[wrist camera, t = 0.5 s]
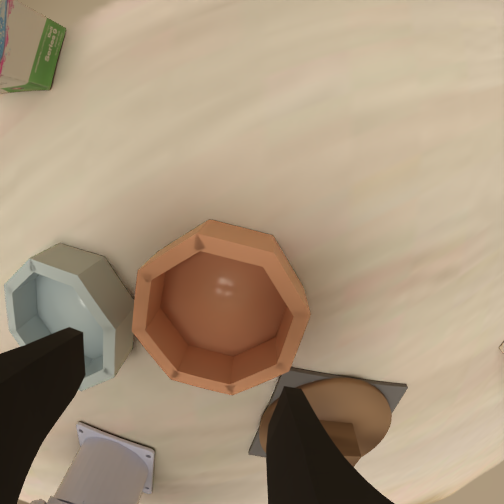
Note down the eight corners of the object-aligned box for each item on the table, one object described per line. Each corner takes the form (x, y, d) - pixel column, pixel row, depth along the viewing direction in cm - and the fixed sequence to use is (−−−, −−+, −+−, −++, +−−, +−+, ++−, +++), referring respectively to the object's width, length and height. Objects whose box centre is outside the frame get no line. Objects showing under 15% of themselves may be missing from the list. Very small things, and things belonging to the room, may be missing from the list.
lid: (355, 466, 24) (363, 501, 20) (245, 455, 24) (242, 494, 19) (410, 385, 21) (430, 422, 17) (282, 366, 21) (284, 410, 16)
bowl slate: (131, 375, 22) (114, 404, 19) (37, 337, 22) (14, 358, 18) (140, 267, 19) (118, 288, 16) (33, 234, 19) (2, 247, 16)
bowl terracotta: (274, 370, 21) (275, 404, 18) (147, 337, 21) (129, 366, 18) (316, 246, 19) (327, 266, 15) (166, 208, 18) (145, 220, 15)
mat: (353, 461, 24) (354, 465, 24) (248, 451, 24) (248, 454, 23) (406, 384, 21) (407, 387, 21) (283, 365, 21) (284, 369, 21)
